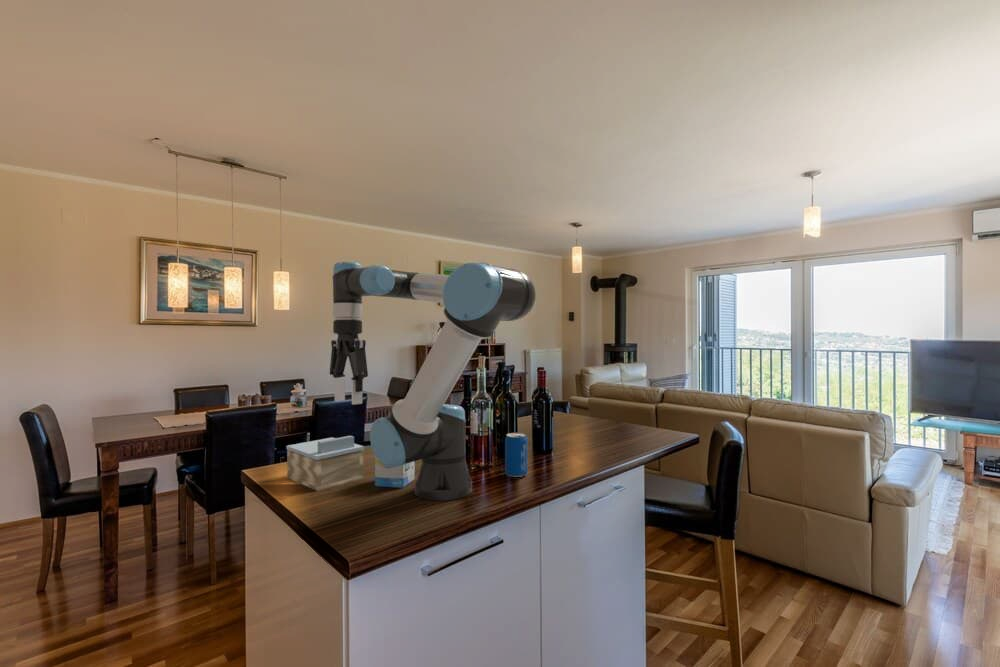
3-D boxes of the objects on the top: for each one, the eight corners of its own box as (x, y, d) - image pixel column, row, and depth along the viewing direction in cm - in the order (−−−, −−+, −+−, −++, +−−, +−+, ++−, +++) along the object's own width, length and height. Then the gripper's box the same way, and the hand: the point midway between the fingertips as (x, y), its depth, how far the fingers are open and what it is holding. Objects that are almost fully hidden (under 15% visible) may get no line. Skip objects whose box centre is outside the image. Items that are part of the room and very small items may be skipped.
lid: (364, 449, 132) (364, 436, 132) (316, 460, 122) (316, 445, 122) (332, 440, 145) (332, 427, 145) (286, 449, 134) (286, 435, 134)
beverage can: (515, 480, 130) (515, 438, 130) (500, 475, 135) (500, 434, 135) (531, 475, 134) (531, 434, 134) (516, 470, 139) (516, 431, 139)
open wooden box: (363, 478, 132) (363, 450, 132) (316, 490, 122) (316, 461, 122) (332, 467, 144) (332, 441, 144) (287, 477, 134) (287, 450, 134)
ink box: (403, 488, 124) (403, 445, 124) (374, 486, 125) (374, 444, 125) (415, 478, 132) (415, 438, 132) (388, 477, 134) (387, 437, 134)
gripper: (381, 318, 121) (382, 404, 120) (340, 320, 135) (340, 397, 134) (356, 317, 115) (356, 407, 115) (316, 320, 129) (316, 400, 129)
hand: (348, 402), depth 125 cm, fingers open, 8 cm apart
